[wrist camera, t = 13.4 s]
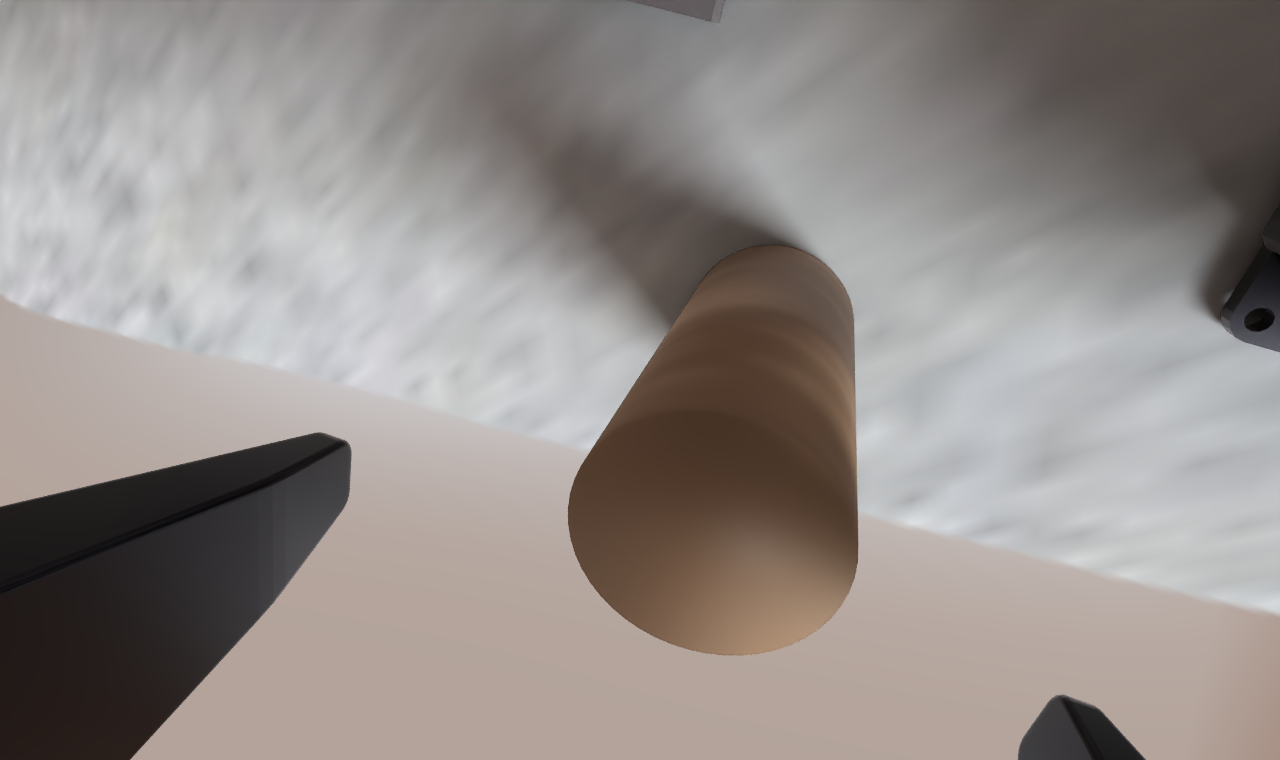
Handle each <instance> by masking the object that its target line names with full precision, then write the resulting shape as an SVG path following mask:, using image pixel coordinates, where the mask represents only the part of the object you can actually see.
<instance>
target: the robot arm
mask: <svg viewBox="0 0 1280 760" xmlns="http://www.w3.org/2000/svg"><path fill="white" fill-rule="evenodd" d="M1262 236H1263V240H1264V245H1263V247H1262V248H1261V250H1260V252H1259V253H1258V255H1257V256H1256V258H1255V259H1254V261H1253V262H1252V264H1251V266H1250V267H1249V269H1248V270H1247V272H1246V273H1245V275H1244V276H1243V278H1242V280H1241V281H1240V283H1239V284H1238V286H1237V287H1236V289H1235V290H1234V292H1233V294H1232V295H1231V297H1230V298H1229V300H1228V301H1227V303H1226V304H1225V306H1224V308H1223V311H1222V313H1221V323H1222V325H1223V327H1224V328H1225V329H1226V331H1227V332H1229V333H1230V334H1232V335H1233V336H1234V337H1236V338H1238V339H1240V340H1242V341H1244V342H1246V343H1250V344H1253V345H1257V346H1260V347H1264V348H1267V349H1271V350H1274V351H1278V352H1280V205H1279V206H1278V208H1277V209H1276V211H1275V212H1274V214H1273V216H1272V217H1271V219H1270V220H1269V222H1268V223H1267V225H1266V227H1265V228H1264V230H1263V232H1262ZM1257 308H1264V310H1265V313H1264V316H1263V318H1262V319H1261V320H1260V321H1258V322H1257V323H1255V324H1252V325H1245V324H1244V320H1245V317H1246V315H1247V314H1248V313H1250V312H1251V311H1252V310H1255V309H1257ZM350 471H351V447H350V445H349V443H348V442H347V441H345V440H343V439H340V438H337V437H334V436H331V435H328V434H326V433H313V434H308V435H304V436H300V437H296V438H291V439H287V440H283V441H279V442H275V443H270V444H266V445H261V446H257V447H253V448H249V449H244V450H241V451H236V452H232V453H227V454H223V455H219V456H215V457H210V458H206V459H202V460H198V461H193V462H189V463H185V464H180V465H176V466H172V467H168V468H163V469H159V470H155V471H151V472H146V473H142V474H138V475H134V476H129V477H125V478H121V479H116V480H112V481H108V482H104V483H99V484H95V485H91V486H86V487H82V488H78V489H74V490H70V491H65V492H61V493H57V494H53V495H48V496H44V497H39V498H35V499H31V500H27V501H22V502H18V503H14V504H10V505H6V506H2V507H0V760H130V759H131V758H132V757H133V756H134V755H135V753H137V751H138V750H139V749H140V748H141V747H142V746H143V745H144V744H145V743H146V742H147V741H148V739H149V738H150V737H151V736H152V735H153V734H154V733H155V732H156V731H157V729H159V728H160V726H161V725H162V724H163V723H164V722H165V721H166V720H167V719H168V718H169V717H170V716H171V714H172V713H173V712H174V711H175V710H176V709H177V708H178V707H179V705H181V703H182V702H183V701H184V700H185V699H186V698H187V697H188V696H189V695H190V694H191V693H192V691H193V690H194V689H195V688H196V687H197V686H198V685H199V684H200V683H201V682H202V681H203V680H204V678H205V677H206V676H207V675H208V674H209V673H210V672H211V671H212V670H213V669H214V667H215V666H216V665H217V664H218V663H219V662H220V661H221V660H222V659H223V658H224V657H225V656H226V654H227V653H228V652H229V651H230V650H231V649H232V648H233V647H234V646H235V645H236V644H237V642H238V641H239V640H240V639H241V638H242V637H243V636H244V635H245V634H246V633H247V632H248V631H249V629H250V628H251V627H252V626H253V625H254V624H255V623H256V622H257V621H258V620H259V619H260V617H261V616H262V615H263V614H264V613H265V612H266V610H267V609H268V608H269V607H270V606H271V605H272V604H273V603H274V601H275V600H276V599H277V597H278V596H279V595H280V594H281V592H282V591H283V590H284V589H285V587H286V586H287V585H288V583H289V582H290V580H291V579H292V578H293V576H294V575H295V574H296V572H297V571H298V570H299V568H300V567H301V566H302V564H303V563H304V562H305V560H306V559H307V558H308V556H309V555H310V554H311V552H312V551H313V549H314V548H315V547H316V546H317V544H318V543H319V541H320V540H321V539H322V537H323V536H324V535H325V533H326V532H327V531H328V529H329V528H330V527H331V525H332V524H333V523H334V521H335V520H336V518H337V517H338V516H339V514H340V513H341V512H342V510H343V508H344V507H345V505H346V503H347V500H348V497H349V490H350ZM1018 760H1146V759H1145V758H1144V757H1143V756H1142V755H1141V754H1140V753H1139V752H1138V751H1137V750H1136V748H1135V747H1134V746H1133V745H1132V744H1131V743H1130V742H1129V741H1128V740H1127V739H1126V738H1125V736H1123V734H1122V733H1121V732H1120V731H1119V730H1118V729H1117V728H1116V727H1115V726H1114V724H1113V723H1112V722H1111V721H1110V720H1109V719H1108V718H1107V717H1106V716H1105V715H1104V713H1103V712H1102V711H1101V710H1100V709H1098V708H1097V707H1095V706H1094V705H1091V704H1089V703H1086V702H1083V701H1080V700H1077V699H1075V698H1072V697H1069V696H1066V695H1056V696H1055V697H1053V698H1052V699H1051V700H1050V701H1049V702H1048V703H1047V705H1046V706H1045V708H1044V709H1043V710H1042V712H1041V713H1040V715H1039V716H1038V717H1037V719H1036V720H1035V722H1034V723H1033V724H1032V726H1031V727H1030V729H1029V730H1028V731H1027V733H1026V734H1025V736H1024V737H1023V739H1022V742H1021V744H1020V747H1019V753H1018Z"/></svg>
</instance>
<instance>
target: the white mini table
mask: <svg viewBox="0 0 1280 760" xmlns="http://www.w3.org/2000/svg"><path fill="white" fill-rule="evenodd" d="M629 1H633V2H637V3H641V4H645V5H649V6H653V7H656V8H660V9H664V10H668V11H672V12H676V13H680V14H684V15H688V16H692V17H695V18H699V19H703V20H707V21H711V22H715V23H719V21H720V17H721V13H722V9H723V5H724V1H725V0H629Z"/></svg>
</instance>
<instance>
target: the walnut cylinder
mask: <svg viewBox="0 0 1280 760" xmlns="http://www.w3.org/2000/svg"><path fill="white" fill-rule="evenodd" d="M568 525H569V531H570V538H571V542H572V545H573V548H574V551H575V555H576V557H577V559H578V561H579V563H580V566H581V568H582V570H583V571H584V573H585V575H586V576H587V578H588V580H589V581H590V583H591V584H592V585H593V587H594V588H595V589H596V591H597V592H598V593H599V594H600V596H601V597H602V598H603V599H604V600H605V601H606V602H607V603H608V604H609V605H610V606H611V607H612V608H613V609H614V610H616V611H617V612H618V613H619V614H620V615H621V616H623V617H624V618H625V619H626V620H628V621H629V622H631V623H632V624H634V625H635V626H637V627H638V628H640V629H641V630H643V631H645V632H647V633H649V634H650V635H653V636H654V637H656V638H659V639H661V640H663V641H666V642H668V643H670V644H673V645H676V646H679V647H683V648H685V649H689V650H693V651H698V652H703V653H708V654H717V655H752V654H760V653H765V652H770V651H774V650H777V649H780V648H783V647H786V646H789V645H792V644H794V643H796V642H798V641H800V640H802V639H804V638H806V637H808V636H809V635H811V634H812V633H814V632H815V631H816V630H818V629H819V628H821V627H822V626H823V625H824V624H825V623H826V622H827V621H829V620H830V619H831V618H832V616H833V615H834V614H835V613H836V612H837V610H838V609H839V608H840V607H841V605H842V604H843V602H844V600H845V598H846V597H847V595H848V593H849V591H850V588H851V586H852V583H853V581H854V578H855V573H856V568H857V563H858V508H857V456H856V405H855V353H854V317H853V309H852V305H851V302H850V298H849V296H848V294H847V291H846V289H845V287H844V286H843V284H842V283H841V281H840V279H839V278H838V277H837V276H836V275H835V273H834V272H833V271H832V270H831V269H830V268H829V267H828V266H826V265H825V264H824V263H823V262H821V261H820V260H819V259H817V258H816V257H814V256H812V255H810V254H808V253H806V252H804V251H801V250H798V249H795V248H791V247H786V246H779V245H760V246H754V247H749V248H746V249H743V250H740V251H738V252H735V253H733V254H731V255H729V256H727V257H726V258H724V259H723V260H721V261H720V262H719V263H717V264H716V265H715V266H714V267H713V268H712V269H711V270H710V271H709V272H708V273H707V274H706V275H705V277H704V278H703V280H702V281H701V283H700V284H699V286H698V287H697V289H696V290H695V292H694V293H693V295H692V296H691V298H690V299H689V301H688V302H687V304H686V306H685V307H684V309H683V310H682V312H681V313H680V315H679V316H678V318H677V319H676V321H675V322H674V324H673V325H672V327H671V329H670V330H669V332H668V333H667V335H666V336H665V338H664V339H663V341H662V342H661V344H660V345H659V347H658V349H657V350H656V352H655V353H654V355H653V356H652V358H651V359H650V361H649V362H648V364H647V365H646V367H645V368H644V370H643V372H642V373H641V375H640V376H639V378H638V379H637V381H636V382H635V384H634V385H633V387H632V388H631V390H630V391H629V393H628V395H627V396H626V398H625V399H624V401H623V402H622V404H621V405H620V407H619V408H618V410H617V411H616V413H615V414H614V416H613V418H612V419H611V421H610V422H609V424H608V425H607V427H606V428H605V430H604V431H603V433H602V434H601V436H600V437H599V439H598V441H597V442H596V444H595V445H594V447H593V448H592V450H591V451H590V453H589V454H588V456H587V458H586V459H585V461H584V462H583V464H582V465H581V467H580V469H579V471H578V473H577V475H576V477H575V480H574V483H573V486H572V489H571V493H570V498H569V506H568Z"/></svg>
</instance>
